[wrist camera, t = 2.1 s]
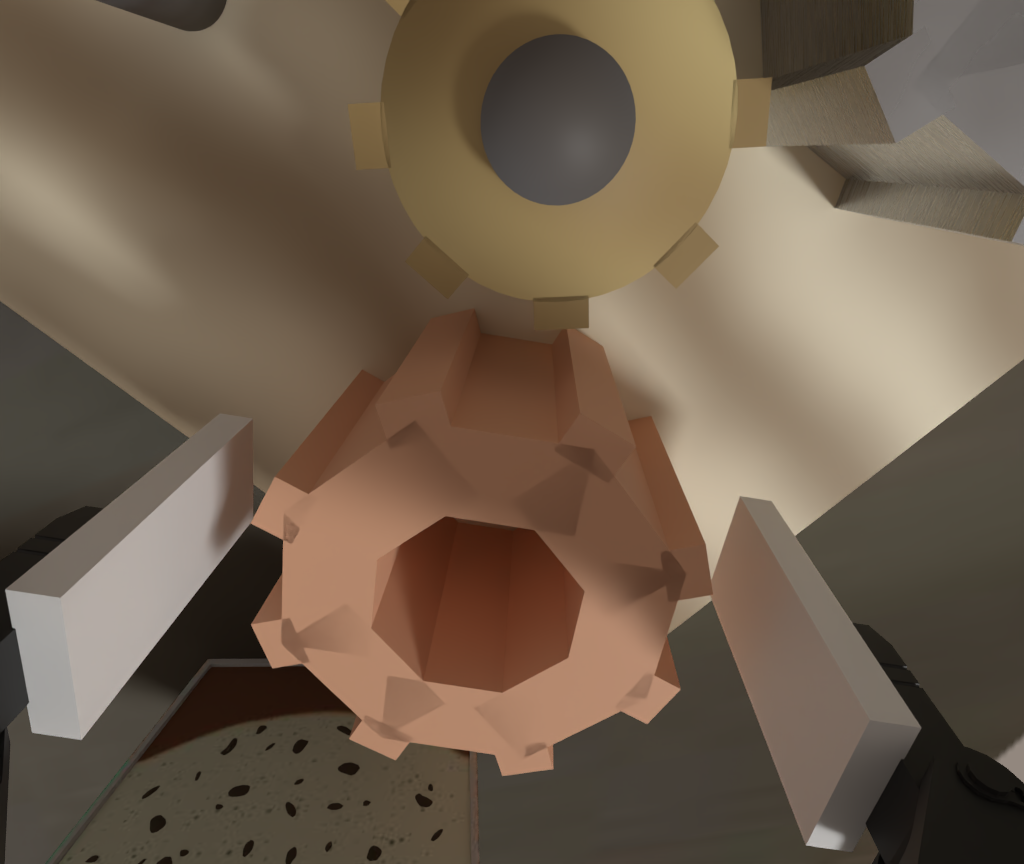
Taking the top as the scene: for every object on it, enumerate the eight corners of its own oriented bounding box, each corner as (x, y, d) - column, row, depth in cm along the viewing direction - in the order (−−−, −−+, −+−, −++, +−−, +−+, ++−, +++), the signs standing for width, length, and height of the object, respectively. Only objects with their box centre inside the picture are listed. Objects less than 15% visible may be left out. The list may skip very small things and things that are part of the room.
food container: (205, 783, 25) (14, 1146, 16) (165, 658, 23) (-87, 1002, 14) (525, 784, 25) (517, 1163, 15) (518, 656, 22) (504, 1015, 13)
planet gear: (467, 637, 20) (440, 823, 14) (276, 432, 17) (156, 561, 12) (709, 500, 18) (786, 657, 12) (532, 243, 15) (528, 295, 10)
